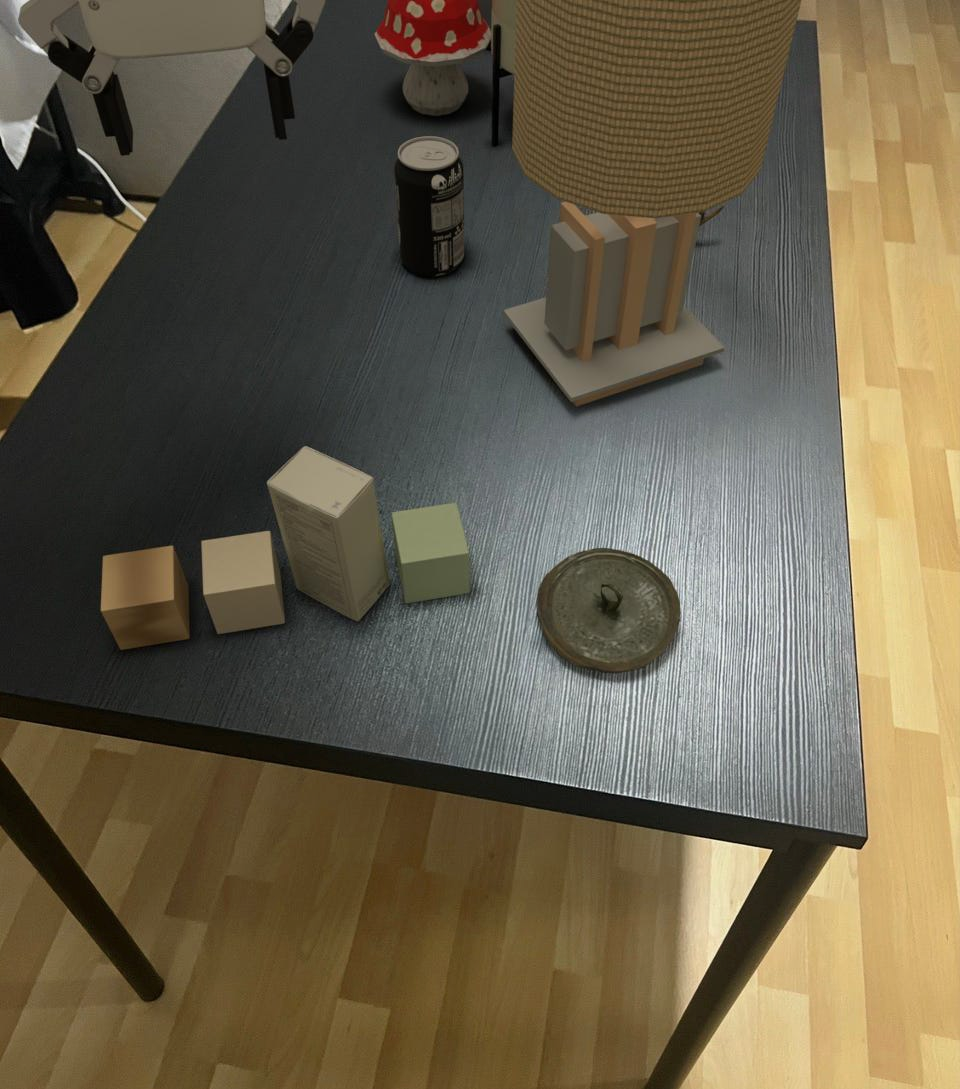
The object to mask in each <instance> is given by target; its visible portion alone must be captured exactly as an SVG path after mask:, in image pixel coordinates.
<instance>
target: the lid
mask: <svg viewBox="0 0 960 1089" xmlns="http://www.w3.org/2000/svg"><path fill="white" fill-rule="evenodd" d="M535 602H536V604H535V608H536V617H537V621H538V624H539V625H540V628H541V631H542V632H543V636H544V637H545V639H546V640H547V642H548V643H549V645H550V646H551V648H552V649H553V651H555V652H556V655H558V656H559V657H560V658H561V659H563V660H564V661H566V662H568V663H569V664H571V665H573V666H575V667H577V668H581V669H584V670H587V671H594V672H596V673H597V672H598V673H601V674H622V673H628V672H633V671H638V670H641V669H644V668H646V667H647V666H648V665H651V664H653V662H655V660H657V659H658V658H659V657H661V656H662V655H663V654H664V653H665V652H666V651H667V649H668V647H670V645H671V643H673V641H674V639H675V636H676V633H677V632H678V629H679V625H680V623H681V614H682V611H681V601H680V597H679V593H678V591H677V589H676V588H675V585H674V584H673V581H672V580H671V578H670V577H669V575H668V574H666V573H665V572H664V571H663V570H662V569H661V568H659V567H658V566H656V565H655V564H654V563H653V562H651V561H650V560H648V559H646V558H644V557H642V556H641V555H637V554H635V553H633V552H629V551H626V550H625V551H624V550H621V549H615V548H609V547H594V548H590V549H587V550H582V551H578V552H576V553H573V554H570V555H568V556H567V557H565V558H564V559H563V560H561V561H559V563H556V565H555V566H554V567H553V568H552V569H550V570H549V571H548V572H547V573H546V575H544V577H543V579H542V581H541V582H540V585H539V587H538V589H537V596H536V601H535Z"/></svg>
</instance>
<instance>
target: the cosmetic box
mask: <svg viewBox="0 0 960 1089" xmlns="http://www.w3.org/2000/svg"><path fill="white" fill-rule="evenodd" d="M266 485H267V489H268V492H269V496H270V499H271V503H272V506H273V510H274V514H275V517H276V521H277V525H278V527H279V531H280V534H281V538H282V542H283V546H284V548H285V553H286V556H287V559H288V563H289V566H290V570H291V574H292V577H293V581H294V584H295V588H296V589H297V590H298V591H300V592H301V593H303V594H305V595H307V596H308V597H310V598H311V599H314V600H315V601H317V602H319V603H321V604H322V605H325V606H326V607H328V608H330V609H332V610H334V611H335V612H337V613H339V614H341V615H343V616H345V617H346V618H349V619H351V620H353V621H356V622H359V621H360V620H362V618H363V617H364V616H365V615H366V614H367V613H368V611H369V610H370V609H371V608H372V607H373V605H374V604H375V603H376V602H377V601H378V600H379V599H380V597H381V596H382V595H383V593H384V592H385V591H386V590H387V588H388V587H389V586H390V578H389V571H388V565H387V558H386V553H385V552H386V551H385V546H384V540H383V532H382V526H381V521H380V514H379V509H378V508H379V507H378V502H377V495H376V488H375V482H374V478H373V476H371V475H369V474H367V473H365V472H364V471H361V470H359V469H357V468H355V467H353V466H350V465H349V464H347V463H345V462H344V461H343V462H342V461H340V460H338V459H336V458H333V457H331V456H329V455H327V454H325V453H322V452H320V451H318V450H317V449H313V448H311V447H309V446H305V445H304V446H303V447H302V448H301V449H299V450H298V451H297V452H296V453H295V454H294V455H293V456H292V457H291V458H290V459H289V460H288V461H287V462H285V464H283V465H282V466H281V467H280V468H279V469H278V470H277V471H275V473H274V474H273V475H272V476H271V477H270V478H269V479H268V480H267V481H266Z"/></svg>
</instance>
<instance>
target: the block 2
mask: <svg viewBox="0 0 960 1089" xmlns="http://www.w3.org/2000/svg"><path fill="white" fill-rule="evenodd" d="M200 543H201V568H202V571H201V572H202V591H203V592H202V593H203V594H202V596H203V598H204V601H205V603H206V606H207V609H208V612H209V615H210V617H211V620H212V622H213V626H214V628H215V631H216V634H217V635H222V634H228V633H236V632H240V631H246V630H253V629H260V628H265V627H271V626H277V625H278V626H279V625H283V624H286V616H285V608H284V606H285V604H284V596H283V586H282V584H283V583H282V577H281V576H282V574H281V568H280V565H279V561H278V558H277V556H278V555H277V553H276V549H275V545H274V541H273V537H272V533H271V530H265V531H258V532H251V533H245V534H239V535H238V534H237V535H232V536H225V537H218V538H212V539H205V540H201V542H200Z"/></svg>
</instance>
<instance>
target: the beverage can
mask: <svg viewBox="0 0 960 1089" xmlns="http://www.w3.org/2000/svg"><path fill="white" fill-rule="evenodd" d="M459 154H460V152H459V148H458V146H457V144H455V143H454V142H453V141H452V140H449V139H447V138H444V137H440V136H433V135H432V136H431V135H427V136H425V135H424V136H418V137H413V138H411V139H409V140H407V141H405V142H403V143H402V144H401V145H400V146H399V148H398V150H397V159H396V160H395V162H394V166H393V170H394V171H393V172H394V186H395V187H394V188H395V196H396V197H395V200H396V214H397V216H396V217H397V229H398V244H399V256H400V259H401V261H402V264H403V265H405V266H406V267H407V268H408V269H409V270H410V271H412V272H413V273H415V274H418V275H420V276H425V277H439V276H443V275H447V274H449V273H451V272H453V271H455V269H457V267H458V266H459V265H460V264H461V263H462V262H463V260H464V257H465V194H464V193H465V191H464V190H465V187H464V186H465V185H464V184H465V182H464V178H465V177H464V164H463V160H462V159H461V158H460V156H459Z"/></svg>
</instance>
